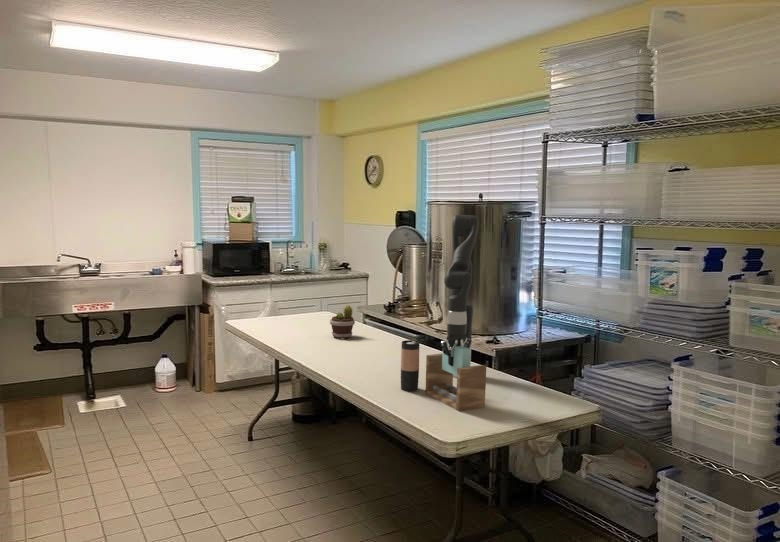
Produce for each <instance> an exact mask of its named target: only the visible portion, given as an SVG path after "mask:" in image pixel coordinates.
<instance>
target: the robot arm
mask: <svg viewBox="0 0 780 542" xmlns="http://www.w3.org/2000/svg"><path fill="white" fill-rule="evenodd" d="M479 225H480V220H479V218H478V216H476V215H468V214H454V216H453V218H452V223H451V229H452V230H451V237H452V239H451V240H452V241H451V242H452V250H451V251H452V252H451V253H452V255H451V263H450V264H451V265H450V267H449V269H448V270H447V272H446V273H445V277H444V285H445V287H446V288H447V289H449V290H450V294H449V295H450V296H449V297H448V306H447V307H448V308H447V316H446V317H447V320H446V321H447V323H446V334H447V336H446V339H444V340H441V341H440V342H439V344H440V345H441V348H442V349H443V352H444V354H445V355H447V356H448V364H449V365H450V366H453V363H454V357H453V355H454V351H455V347H456V346H463V347H466V348H469V349H470V366H471V362H472V361H471V360H472V334H473V333H472V331H473V329H472V328H473V319H474V318H473V317H474V308H473V305H472V304H471V303H468V301H467V300H468V295H469V291H470V289H471V286H472V283H473V263H472V260H471V257H472V252H473V249H474V247H475V244H476V240H477V237H478V233H479V227H480V226H479ZM461 237H465V238H466V239H465V240H464V241H463V242H462V241H461ZM448 344H449V346H447V345H448ZM451 347H452V348H451ZM453 378H457V376H456V375H454V374H453Z"/></svg>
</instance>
